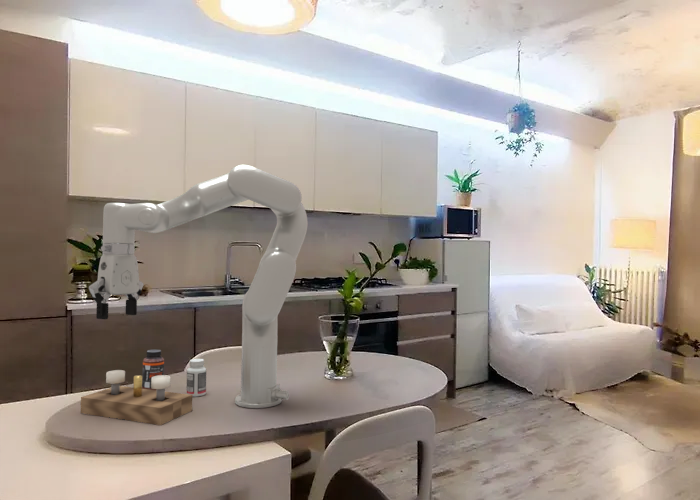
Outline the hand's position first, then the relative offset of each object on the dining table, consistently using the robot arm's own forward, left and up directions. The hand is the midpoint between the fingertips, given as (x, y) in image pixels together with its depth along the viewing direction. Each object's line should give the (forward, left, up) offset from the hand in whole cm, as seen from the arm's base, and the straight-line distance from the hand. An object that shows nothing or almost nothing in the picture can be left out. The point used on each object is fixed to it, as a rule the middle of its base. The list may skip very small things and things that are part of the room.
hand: (117, 316), depth 132 cm
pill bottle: (-12, -18, -24) cm, 32 cm away
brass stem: (-8, +1, -20) cm, 21 cm away
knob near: (-15, +1, -20) cm, 24 cm away
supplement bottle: (+3, -18, -24) cm, 30 cm away
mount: (-8, +1, -24) cm, 25 cm away
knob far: (-1, +1, -20) cm, 20 cm away
